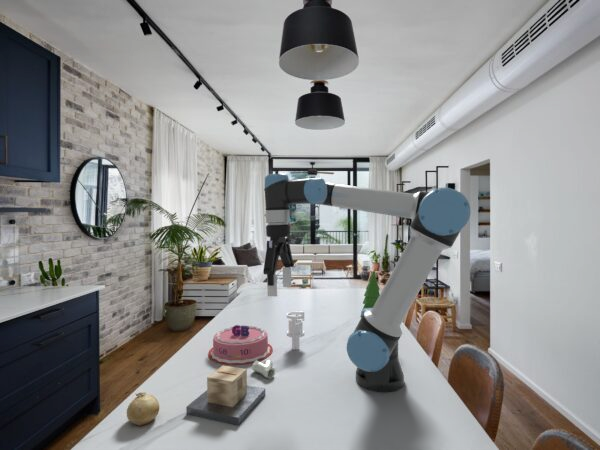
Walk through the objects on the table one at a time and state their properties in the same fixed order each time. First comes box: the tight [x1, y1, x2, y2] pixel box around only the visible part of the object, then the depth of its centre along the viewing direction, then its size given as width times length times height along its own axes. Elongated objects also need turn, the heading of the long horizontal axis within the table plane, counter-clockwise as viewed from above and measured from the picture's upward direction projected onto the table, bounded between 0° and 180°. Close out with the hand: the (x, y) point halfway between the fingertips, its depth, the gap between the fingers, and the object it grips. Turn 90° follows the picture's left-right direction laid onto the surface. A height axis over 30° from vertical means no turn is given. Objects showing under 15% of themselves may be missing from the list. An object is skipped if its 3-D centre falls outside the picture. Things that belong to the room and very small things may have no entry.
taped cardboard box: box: [206, 364, 248, 407], centre depth 101 cm, size 8×8×7 cm
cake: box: [207, 324, 274, 366], centre depth 139 cm, size 25×25×11 cm
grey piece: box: [185, 384, 266, 426], centre depth 101 cm, size 16×16×8 cm
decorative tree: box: [361, 269, 381, 311], centre depth 150 cm, size 10×9×30 cm
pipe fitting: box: [251, 359, 276, 380], centre depth 120 cm, size 8×4×7 cm
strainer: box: [286, 310, 305, 351], centre depth 142 cm, size 7×7×15 cm
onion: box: [126, 392, 160, 427], centre depth 93 cm, size 8×8×7 cm
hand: (280, 291), depth 112 cm, fingers open, 13 cm apart
